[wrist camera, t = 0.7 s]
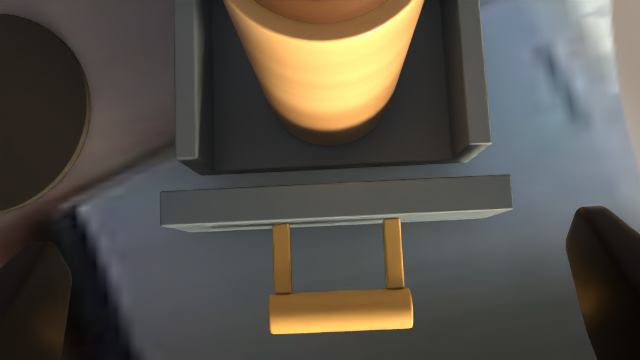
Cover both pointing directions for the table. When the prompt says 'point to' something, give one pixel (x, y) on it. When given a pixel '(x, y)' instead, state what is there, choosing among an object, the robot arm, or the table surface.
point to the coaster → (37, 110)
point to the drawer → (332, 156)
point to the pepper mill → (326, 61)
